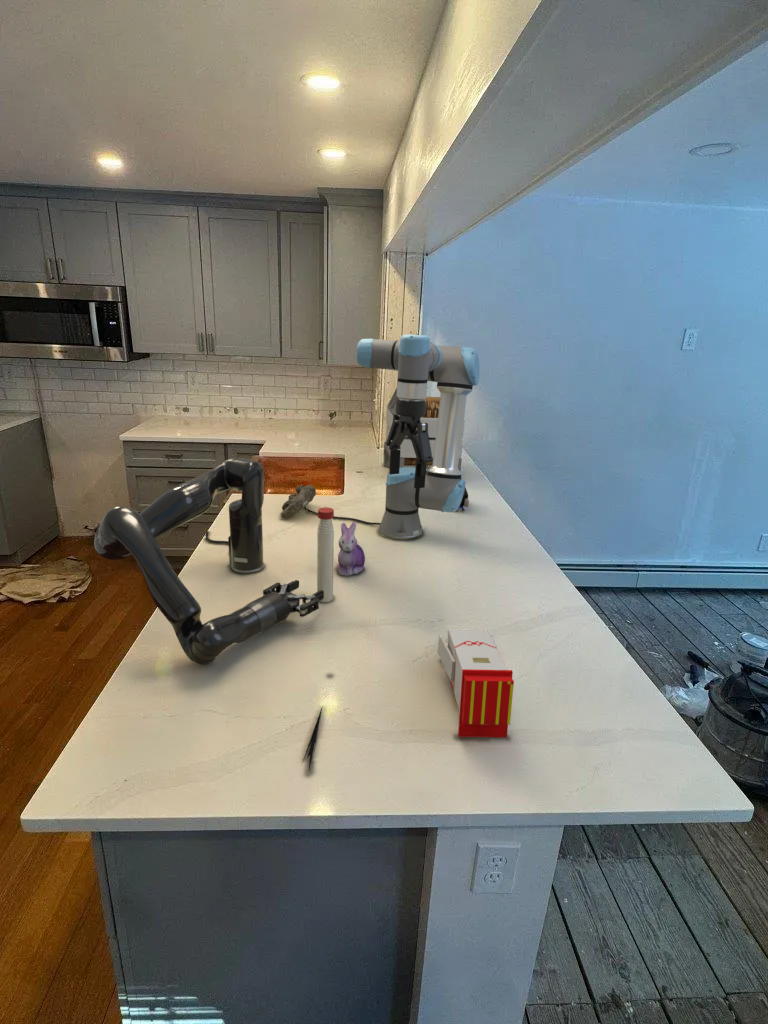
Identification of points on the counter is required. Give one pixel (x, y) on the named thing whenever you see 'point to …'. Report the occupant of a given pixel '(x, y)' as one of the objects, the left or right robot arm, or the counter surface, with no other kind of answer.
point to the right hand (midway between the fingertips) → (406, 480)
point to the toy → (478, 682)
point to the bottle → (325, 558)
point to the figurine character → (464, 500)
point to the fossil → (298, 501)
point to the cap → (325, 513)
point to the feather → (313, 740)
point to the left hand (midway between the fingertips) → (310, 588)
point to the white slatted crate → (407, 448)
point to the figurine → (350, 552)
